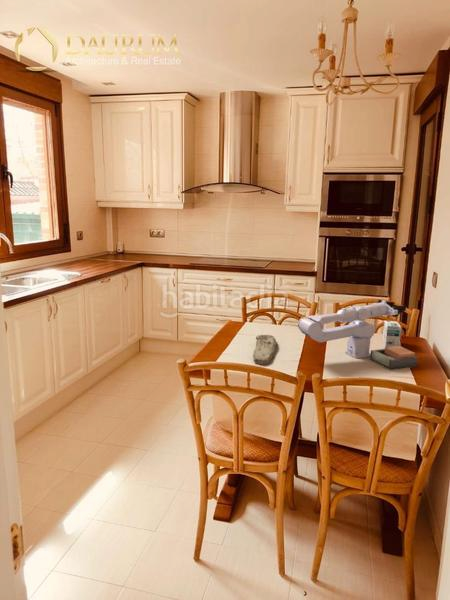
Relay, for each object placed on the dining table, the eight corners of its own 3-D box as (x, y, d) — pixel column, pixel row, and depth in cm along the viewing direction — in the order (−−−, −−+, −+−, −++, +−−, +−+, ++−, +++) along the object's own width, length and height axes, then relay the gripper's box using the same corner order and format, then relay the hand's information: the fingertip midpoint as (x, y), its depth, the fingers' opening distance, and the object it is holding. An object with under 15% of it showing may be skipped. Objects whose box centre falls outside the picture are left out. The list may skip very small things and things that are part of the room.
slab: (399, 359, 182) (400, 354, 181) (384, 352, 190) (385, 347, 189) (414, 358, 184) (414, 352, 184) (398, 351, 193) (399, 345, 192)
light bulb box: (399, 348, 206) (402, 327, 204) (384, 347, 207) (387, 325, 205) (395, 341, 216) (398, 321, 214) (381, 340, 218) (383, 320, 215)
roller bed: (390, 370, 179) (391, 359, 177) (369, 359, 190) (370, 349, 189) (416, 366, 183) (417, 356, 182) (394, 356, 195) (396, 346, 194)
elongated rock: (248, 367, 181) (271, 370, 180) (249, 355, 180) (272, 359, 178) (257, 338, 214) (277, 340, 213) (258, 328, 213) (278, 330, 211)
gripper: (386, 305, 186) (411, 301, 190) (365, 298, 199) (388, 294, 203) (385, 321, 188) (410, 316, 192) (364, 312, 201) (388, 308, 205)
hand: (399, 306), depth 198 cm, fingers open, 7 cm apart
